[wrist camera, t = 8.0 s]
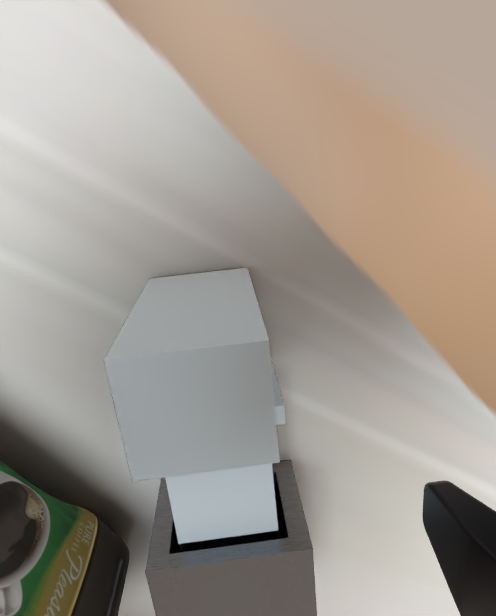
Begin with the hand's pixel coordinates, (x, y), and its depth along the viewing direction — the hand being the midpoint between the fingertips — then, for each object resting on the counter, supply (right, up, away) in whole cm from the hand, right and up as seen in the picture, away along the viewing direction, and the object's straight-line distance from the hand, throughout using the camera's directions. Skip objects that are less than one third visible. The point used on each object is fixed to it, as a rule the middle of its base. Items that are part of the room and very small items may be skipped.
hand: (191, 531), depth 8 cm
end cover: (-1, +1, +13) cm, 13 cm away
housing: (0, -8, +16) cm, 18 cm away
